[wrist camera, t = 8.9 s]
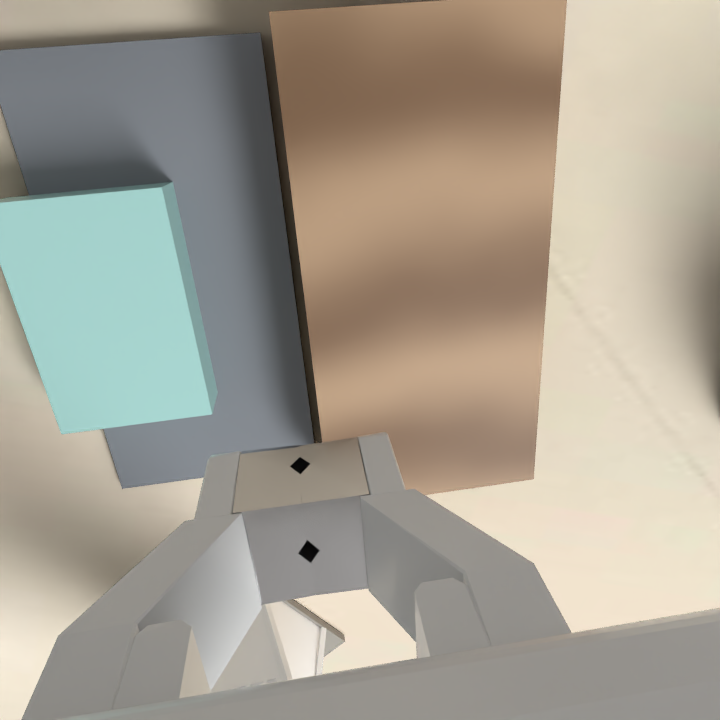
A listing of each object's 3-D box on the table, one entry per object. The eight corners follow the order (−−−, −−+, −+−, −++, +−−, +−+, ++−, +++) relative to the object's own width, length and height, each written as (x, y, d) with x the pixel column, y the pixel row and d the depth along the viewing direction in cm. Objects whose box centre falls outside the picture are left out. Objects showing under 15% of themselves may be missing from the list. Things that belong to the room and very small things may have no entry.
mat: (-11, 52, 18) (-17, 51, 18) (260, 34, 19) (260, 32, 19) (124, 483, 26) (122, 488, 25) (316, 457, 26) (316, 461, 26)
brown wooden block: (272, 33, 19) (268, 11, 15) (515, 16, 20) (567, -8, 16) (324, 456, 26) (330, 508, 23) (500, 431, 27) (533, 479, 24)
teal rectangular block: (161, 187, 18) (172, 181, 20) (-22, 204, 18) (6, 197, 20) (212, 414, 22) (217, 392, 24) (61, 434, 22) (79, 410, 23)
